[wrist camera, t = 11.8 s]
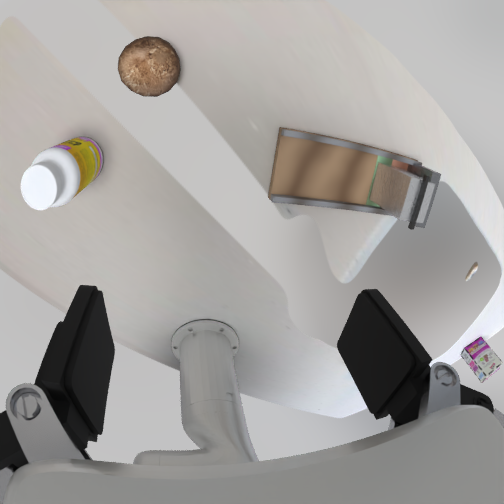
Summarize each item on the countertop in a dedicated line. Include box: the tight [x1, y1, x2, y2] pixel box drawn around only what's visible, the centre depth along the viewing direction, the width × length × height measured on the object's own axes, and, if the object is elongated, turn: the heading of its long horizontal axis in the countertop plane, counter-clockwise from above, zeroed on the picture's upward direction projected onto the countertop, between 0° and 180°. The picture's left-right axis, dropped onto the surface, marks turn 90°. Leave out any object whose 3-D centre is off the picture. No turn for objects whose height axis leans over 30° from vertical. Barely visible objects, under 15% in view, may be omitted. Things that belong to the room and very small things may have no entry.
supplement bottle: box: [21, 137, 103, 210], centre depth 27 cm, size 7×7×13 cm
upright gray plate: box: [407, 163, 441, 228], centre depth 39 cm, size 2×9×6 cm, turn 172°
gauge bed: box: [268, 127, 422, 216], centre depth 39 cm, size 24×10×2 cm, turn 82°
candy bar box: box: [461, 337, 503, 383], centre depth 76 cm, size 11×5×16 cm, turn 102°
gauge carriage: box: [369, 163, 435, 229], centre depth 37 cm, size 5×8×9 cm, turn 172°
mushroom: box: [118, 36, 180, 97], centre depth 27 cm, size 8×8×6 cm
